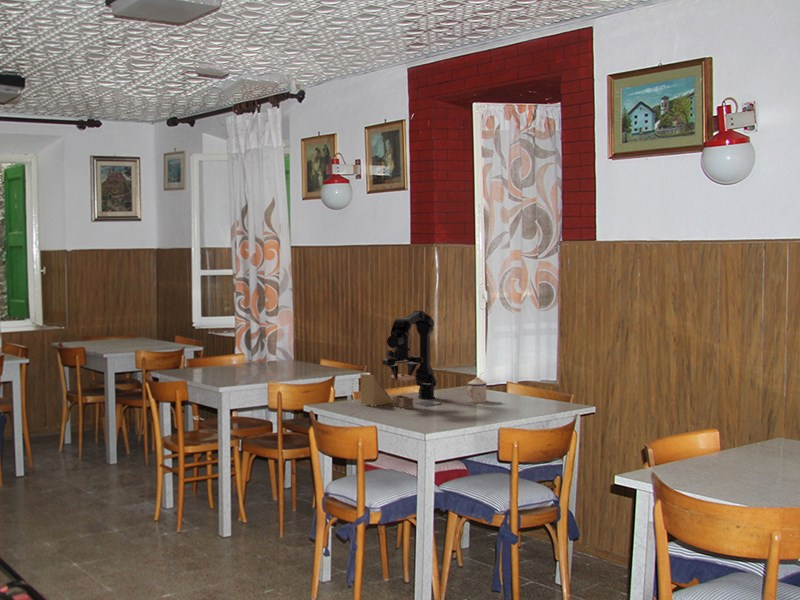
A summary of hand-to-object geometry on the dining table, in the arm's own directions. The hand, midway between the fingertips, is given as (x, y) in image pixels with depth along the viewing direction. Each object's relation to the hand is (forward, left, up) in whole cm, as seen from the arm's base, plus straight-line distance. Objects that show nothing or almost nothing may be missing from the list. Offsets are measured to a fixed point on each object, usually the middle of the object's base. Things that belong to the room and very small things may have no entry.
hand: (402, 379), depth 423 cm
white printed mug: (-36, +7, -13) cm, 39 cm away
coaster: (-14, 0, -13) cm, 19 cm away
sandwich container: (+6, -14, -13) cm, 20 cm away
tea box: (0, 0, -13) cm, 13 cm away
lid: (0, 0, 0) cm, 0 cm away
